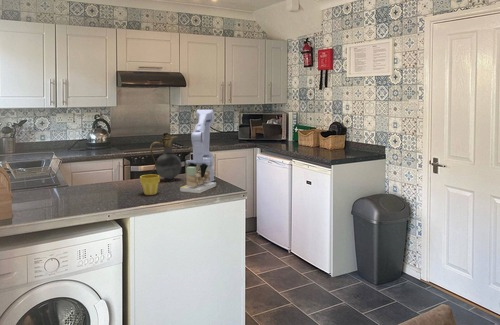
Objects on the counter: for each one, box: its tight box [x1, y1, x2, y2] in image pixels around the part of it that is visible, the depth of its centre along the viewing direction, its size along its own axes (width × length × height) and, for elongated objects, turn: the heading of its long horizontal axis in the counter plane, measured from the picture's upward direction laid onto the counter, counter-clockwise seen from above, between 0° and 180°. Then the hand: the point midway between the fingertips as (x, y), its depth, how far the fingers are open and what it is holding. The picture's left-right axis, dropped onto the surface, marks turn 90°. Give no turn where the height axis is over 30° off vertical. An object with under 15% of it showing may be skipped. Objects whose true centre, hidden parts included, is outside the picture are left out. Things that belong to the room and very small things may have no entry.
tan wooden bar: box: [185, 170, 210, 186], centre depth 242 cm, size 18×5×6 cm, turn 157°
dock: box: [179, 181, 217, 194], centre depth 243 cm, size 20×12×2 cm, turn 157°
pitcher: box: [149, 132, 183, 182], centre depth 262 cm, size 11×19×30 cm, turn 118°
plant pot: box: [139, 174, 161, 196], centre depth 230 cm, size 10×10×10 cm
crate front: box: [185, 166, 197, 175], centre depth 235 cm, size 4×4×4 cm
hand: (198, 176), depth 242 cm, fingers closed on tan wooden bar, 5 cm apart
